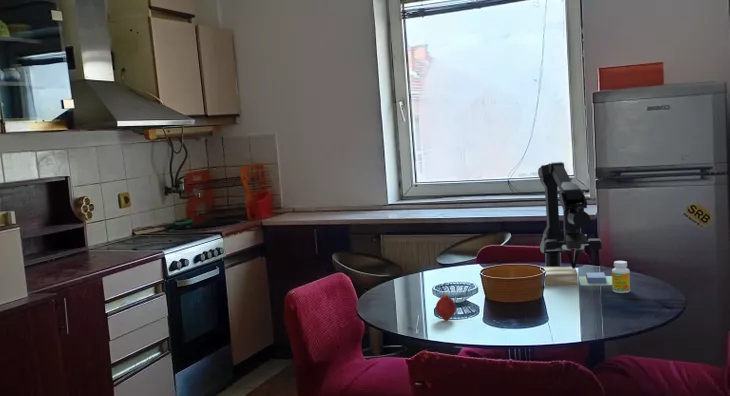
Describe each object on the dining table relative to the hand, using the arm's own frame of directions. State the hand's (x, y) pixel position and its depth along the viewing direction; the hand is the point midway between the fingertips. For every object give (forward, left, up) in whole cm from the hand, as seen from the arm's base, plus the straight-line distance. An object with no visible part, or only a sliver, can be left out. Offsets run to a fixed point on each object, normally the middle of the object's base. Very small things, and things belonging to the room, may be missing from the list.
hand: (573, 268), depth 243 cm
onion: (+48, -39, -5) cm, 62 cm away
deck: (0, -5, -5) cm, 7 cm away
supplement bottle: (+14, +14, -5) cm, 21 cm away
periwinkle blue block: (0, +7, -2) cm, 8 cm away
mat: (0, +8, -5) cm, 9 cm away
